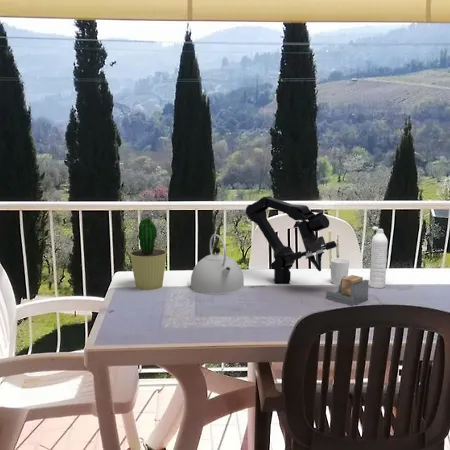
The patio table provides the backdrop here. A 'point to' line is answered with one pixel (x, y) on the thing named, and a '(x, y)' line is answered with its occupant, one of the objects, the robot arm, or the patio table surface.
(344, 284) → the tan box
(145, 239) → the potted cactus
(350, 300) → the grey open holder
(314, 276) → the patio table surface
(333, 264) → the white cup
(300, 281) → the patio table surface
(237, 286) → the kettle
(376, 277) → the water bottle
